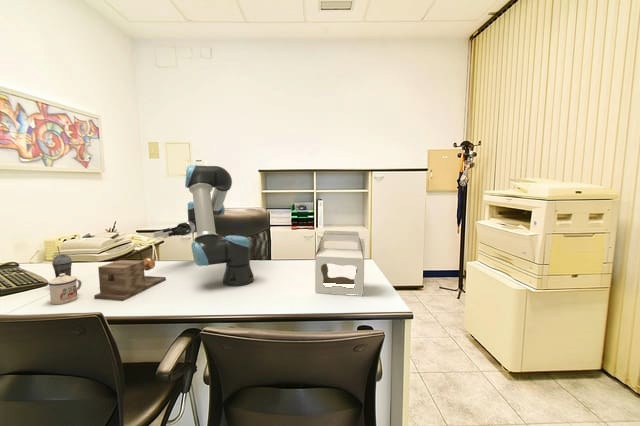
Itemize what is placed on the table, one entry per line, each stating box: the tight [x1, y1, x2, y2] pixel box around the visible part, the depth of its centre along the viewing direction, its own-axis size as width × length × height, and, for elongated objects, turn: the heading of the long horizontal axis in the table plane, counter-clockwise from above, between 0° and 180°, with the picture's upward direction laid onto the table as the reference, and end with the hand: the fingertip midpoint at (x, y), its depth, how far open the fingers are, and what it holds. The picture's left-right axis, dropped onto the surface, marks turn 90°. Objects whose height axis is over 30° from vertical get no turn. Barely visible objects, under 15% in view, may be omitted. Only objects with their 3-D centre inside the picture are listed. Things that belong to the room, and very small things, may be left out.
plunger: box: [112, 257, 156, 279], centre depth 139 cm, size 22×6×6 cm, turn 171°
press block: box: [93, 259, 167, 302], centre depth 138 cm, size 27×14×14 cm, turn 171°
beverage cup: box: [52, 245, 73, 278], centre depth 141 cm, size 7×7×20 cm
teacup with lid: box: [47, 273, 83, 305], centre depth 126 cm, size 12×9×12 cm
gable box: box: [314, 230, 366, 296], centre depth 138 cm, size 22×13×28 cm, turn 80°
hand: (159, 235), depth 156 cm, fingers open, 5 cm apart
